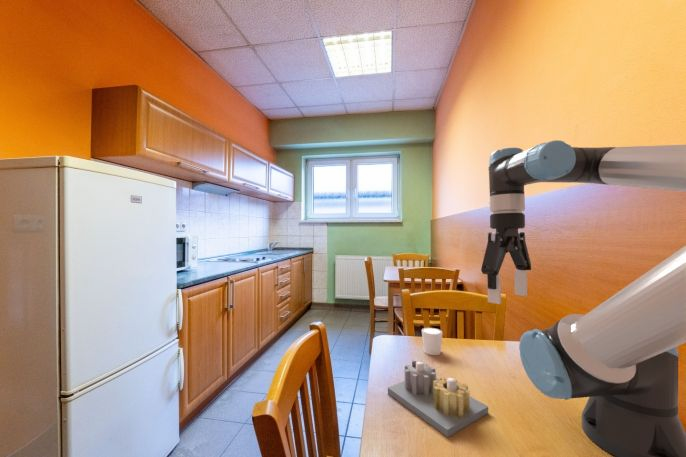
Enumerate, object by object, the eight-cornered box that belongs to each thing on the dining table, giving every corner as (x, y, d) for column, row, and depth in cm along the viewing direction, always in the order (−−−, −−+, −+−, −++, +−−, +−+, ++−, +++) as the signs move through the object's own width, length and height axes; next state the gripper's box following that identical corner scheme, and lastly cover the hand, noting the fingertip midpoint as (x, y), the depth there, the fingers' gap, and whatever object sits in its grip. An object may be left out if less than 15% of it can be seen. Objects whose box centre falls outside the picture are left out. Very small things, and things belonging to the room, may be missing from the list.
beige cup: (417, 351, 97) (417, 330, 97) (428, 345, 102) (428, 325, 102) (436, 357, 92) (435, 336, 92) (446, 351, 97) (446, 330, 97)
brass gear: (476, 409, 63) (476, 389, 63) (454, 422, 59) (454, 400, 59) (448, 393, 70) (447, 374, 70) (426, 403, 66) (426, 383, 66)
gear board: (488, 413, 64) (488, 379, 64) (447, 437, 57) (447, 399, 57) (426, 377, 80) (426, 351, 80) (387, 393, 72) (387, 363, 72)
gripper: (514, 215, 81) (515, 290, 81) (464, 212, 67) (465, 303, 66) (544, 213, 75) (546, 294, 75) (496, 209, 61) (498, 310, 60)
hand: (508, 298), depth 71 cm, fingers open, 13 cm apart
